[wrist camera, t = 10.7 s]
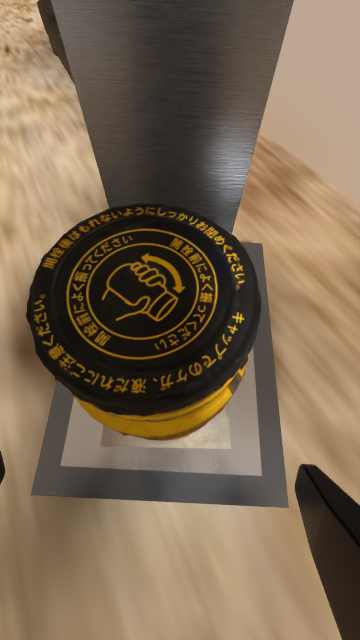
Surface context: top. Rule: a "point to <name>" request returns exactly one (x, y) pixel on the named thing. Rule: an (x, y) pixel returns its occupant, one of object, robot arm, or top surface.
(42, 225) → the top surface
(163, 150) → the coffee machine
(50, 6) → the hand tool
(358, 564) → the robot arm
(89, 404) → the condiment
